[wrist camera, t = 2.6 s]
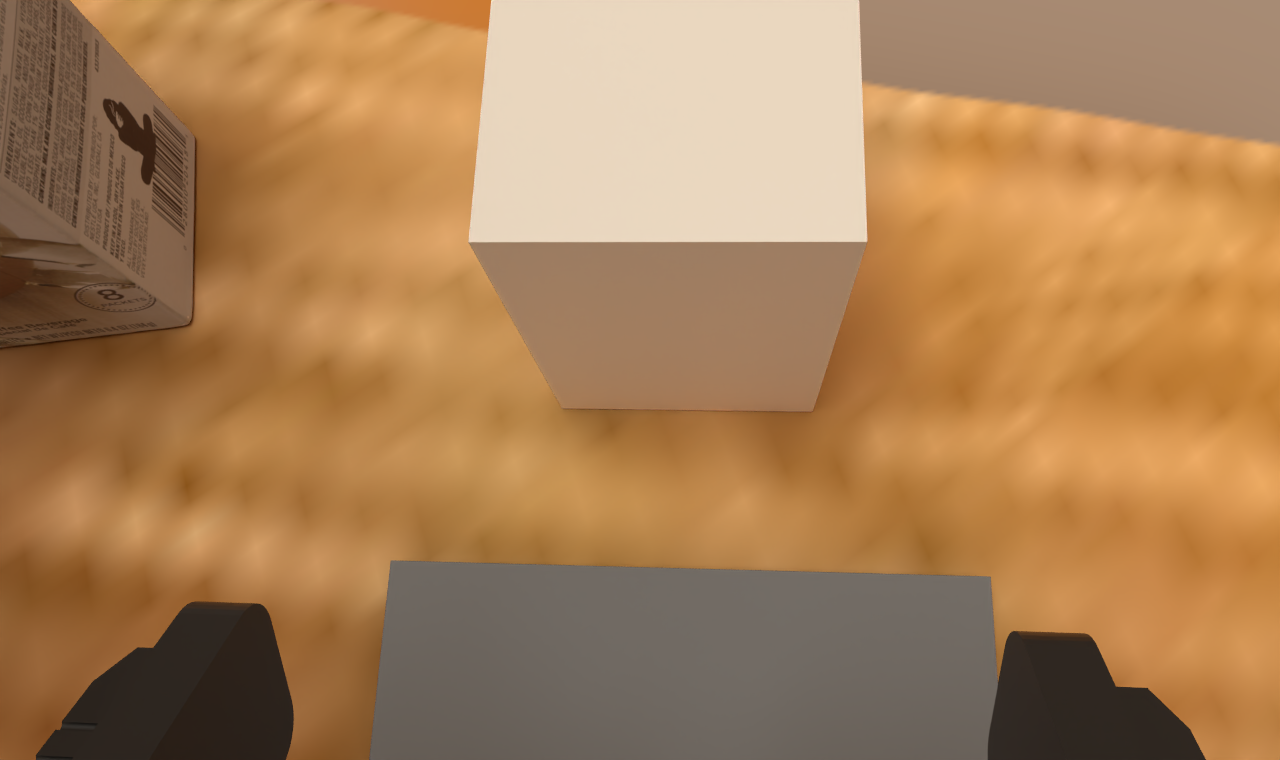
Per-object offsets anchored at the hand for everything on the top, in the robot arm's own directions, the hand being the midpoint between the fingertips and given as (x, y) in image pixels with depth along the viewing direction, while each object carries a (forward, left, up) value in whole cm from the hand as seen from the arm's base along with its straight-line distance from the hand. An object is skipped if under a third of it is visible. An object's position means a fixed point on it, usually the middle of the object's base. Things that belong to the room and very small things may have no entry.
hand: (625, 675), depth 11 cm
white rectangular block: (+4, +9, -13) cm, 17 cm away
